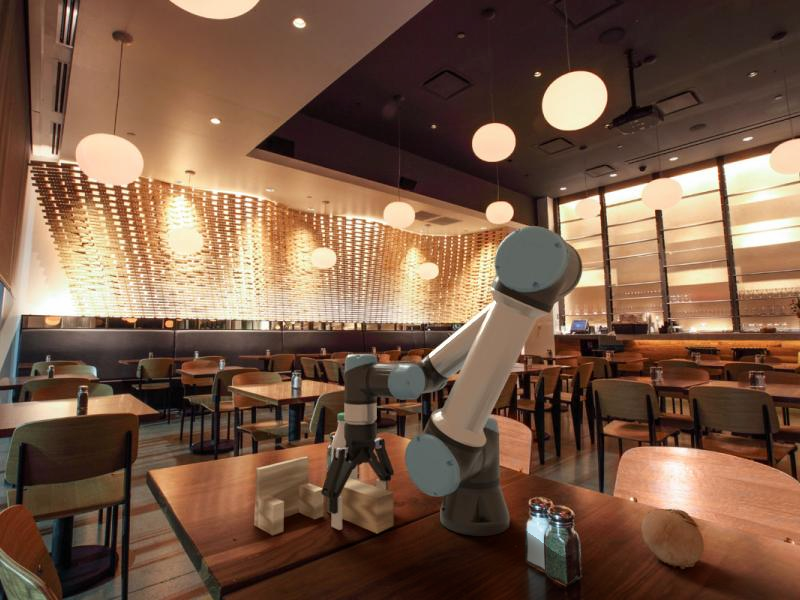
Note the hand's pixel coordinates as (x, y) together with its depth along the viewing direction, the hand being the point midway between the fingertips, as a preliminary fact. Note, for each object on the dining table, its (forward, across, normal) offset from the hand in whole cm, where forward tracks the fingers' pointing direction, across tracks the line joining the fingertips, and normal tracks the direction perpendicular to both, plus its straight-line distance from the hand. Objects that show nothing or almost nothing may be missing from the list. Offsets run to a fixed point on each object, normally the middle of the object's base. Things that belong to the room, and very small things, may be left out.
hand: (360, 518), depth 94 cm
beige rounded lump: (0, -25, +56) cm, 61 cm away
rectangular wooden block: (0, 0, 0) cm, 0 cm away
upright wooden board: (0, +11, -11) cm, 16 cm away
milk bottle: (0, -11, -18) cm, 21 cm away
